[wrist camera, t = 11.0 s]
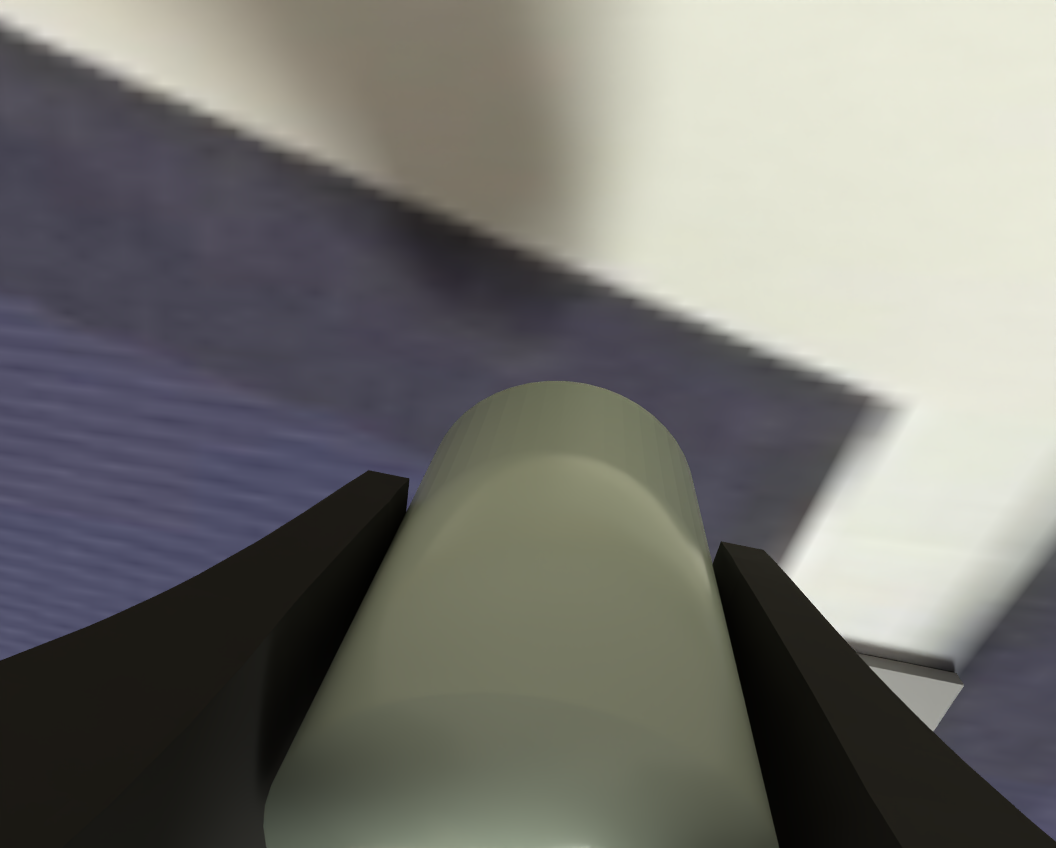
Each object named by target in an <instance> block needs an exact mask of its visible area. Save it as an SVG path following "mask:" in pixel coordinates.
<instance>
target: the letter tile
mask: <svg viewBox="0 0 1056 848" xmlns="http://www.w3.org/2000/svg"><path fill="white" fill-rule="evenodd" d="M857 654H858V655H859V656H860V657H861V658H862V659H863V661H864V662H865V663H866V664H867V665H868V666H869V667H870V668H871V669H872V670H873V671H874V672H875V673H876V674H877V675H878V677H879V678H880V679H881V680H882V681H883V682H884V683H885V684H886V685H887V686H888V687H889V688H890V689H891V690H892V691H893V692H894V693H895V694H896V695H897V696H898V697H899V698H900V699H901V700H902V701H903V702H904V703H905V704H906V705H907V706H908V707H909V708H910V709H911V710H912V711H913V712H914V713H915V714H916V715H917V716H918V717H919V718H920V719H921V720H922V721H923V722H924V723H925V724H926V725H927V726H928V727H929V728H930V729H931V730H932V731H934V730H935V728H936V727H937V725H938V724H939V722H940V721H941V719H942V718H943V716H944V715H945V713H946V712H947V710H948V709H949V707H950V706H951V704H952V703H953V701H954V700H955V698H956V697H957V695H958V694H959V692H960V691H961V689H962V688H963V686H964V685H963V683H962V681H961V680H960V678H959V677H958V675H957V673H953V672H948V671H943V670H938V669H933V668H928V667H923V666H918V665H913V664H908V663H903V662H898V661H893V660H888V659H884V658H879V657H874V656H869V655H864V654H859V653H857Z"/></svg>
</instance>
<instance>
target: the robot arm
mask: <svg viewBox="0 0 1056 848" xmlns="http://www.w3.org/2000/svg"><path fill="white" fill-rule="evenodd" d="M408 487H409V478H404V477H399V476H394V475H389V474H384V473H380V472H375V471H370V470H368V471H367V472H365V473H364V474H362V475H360V476H359V477H357V478H356V479H354V480H352V481H351V482H349V483H348V484H346V485H345V486H343V487H342V488H340V489H339V490H337V491H336V492H334V493H333V494H331V495H330V496H328V497H326V498H325V499H323V500H322V501H320V502H319V503H317V504H316V505H314V506H313V507H311V508H310V509H308V510H307V511H305V512H304V513H302V514H301V515H299V516H297V517H296V518H294V519H293V520H291V521H289V522H288V523H286V524H285V525H283V526H281V527H280V528H278V529H277V530H275V531H273V532H272V533H270V534H269V535H267V536H265V537H264V538H262V539H261V540H259V541H257V542H256V543H254V544H252V545H250V546H248V547H247V548H245V549H243V550H241V551H239V552H238V553H236V554H234V555H232V556H231V557H229V558H227V559H225V560H223V561H222V562H220V563H218V564H216V565H215V566H213V567H211V568H209V569H207V570H206V571H204V572H202V573H200V574H199V575H197V576H195V577H193V578H191V579H189V580H187V581H185V582H183V583H181V584H179V585H177V586H175V587H173V588H171V589H169V590H167V591H165V592H163V593H161V594H159V595H157V596H155V597H152V598H150V599H148V600H146V601H144V602H142V603H139V604H137V605H135V606H133V607H131V608H128V609H126V610H124V611H122V612H120V613H117V614H115V615H113V616H111V617H109V618H106V619H104V620H102V621H99V622H97V623H95V624H92V625H90V626H88V627H85V628H83V629H80V630H78V631H75V632H72V633H70V634H67V635H65V636H62V637H60V638H57V639H55V640H52V641H49V642H47V643H44V644H42V645H39V646H37V647H34V648H32V649H29V650H27V651H24V652H21V653H19V654H16V655H14V656H11V657H9V658H6V659H4V660H1V661H0V848H267V847H266V842H265V834H264V827H263V824H264V811H265V804H266V800H267V797H268V794H269V791H270V787H271V785H272V783H273V781H274V779H275V777H276V775H277V773H278V770H279V768H280V766H281V764H282V762H283V760H284V758H285V756H286V754H287V752H288V750H289V748H290V746H291V744H292V742H293V740H294V738H295V736H296V734H297V732H298V730H299V728H300V726H301V724H302V722H303V720H304V718H305V716H306V714H307V712H308V710H309V708H310V706H311V704H312V702H313V700H314V698H315V696H316V694H317V692H318V690H319V688H320V686H321V684H322V682H323V680H324V678H325V675H326V673H327V671H328V669H329V667H330V665H331V663H332V661H333V659H334V657H335V655H336V653H337V651H338V649H339V647H340V645H341V643H342V641H343V639H344V637H345V635H346V633H347V631H348V629H349V627H350V625H351V623H352V621H353V619H354V617H355V615H356V613H357V611H358V609H359V607H360V605H361V603H362V601H363V599H364V597H365V595H366V593H367V591H368V589H369V587H370V585H371V582H372V580H373V578H374V576H375V574H376V572H377V570H378V568H379V566H380V564H381V562H382V560H383V558H384V556H385V554H386V552H387V550H388V548H389V546H390V544H391V542H392V540H393V538H394V536H395V534H396V532H397V530H398V528H399V526H400V524H401V522H402V520H403V518H404V516H405V514H406V508H407V498H408ZM713 569H714V573H715V578H716V582H717V586H718V590H719V595H720V599H721V603H722V607H723V612H724V616H725V620H726V624H727V629H728V633H729V637H730V641H731V646H732V650H733V654H734V658H735V663H736V667H737V671H738V675H739V680H740V684H741V688H742V692H743V697H744V701H745V705H746V709H747V714H748V718H749V722H750V726H751V730H752V735H753V739H754V743H755V747H756V752H757V756H758V760H759V764H760V769H761V773H762V777H763V781H764V786H765V790H766V794H767V798H768V803H769V807H770V811H771V815H772V820H773V824H774V828H775V832H776V837H777V841H778V845H779V848H1056V841H1054V840H1053V839H1052V838H1051V837H1050V836H1048V835H1047V834H1046V833H1045V832H1044V831H1042V830H1041V829H1040V828H1039V827H1038V826H1036V825H1035V824H1034V823H1033V822H1032V821H1031V820H1029V819H1028V818H1027V817H1026V816H1025V815H1024V814H1023V813H1021V812H1020V811H1019V810H1018V809H1017V808H1016V807H1015V806H1014V805H1012V804H1011V803H1010V802H1009V801H1008V800H1007V799H1006V798H1005V797H1003V796H1002V795H1001V794H1000V793H999V792H998V791H997V790H996V789H994V788H993V787H992V786H991V785H990V784H989V783H988V782H987V781H985V780H984V779H983V778H982V777H981V776H980V775H979V774H978V773H976V772H975V771H974V770H973V769H972V768H971V767H970V766H969V765H967V764H966V763H965V762H964V761H963V760H962V759H961V758H960V757H959V756H958V755H957V754H956V753H955V752H954V751H953V750H952V749H950V748H949V747H948V746H947V745H946V744H945V743H944V742H943V741H942V740H941V739H940V738H939V737H938V736H937V735H936V734H935V733H934V732H933V731H932V730H931V729H930V728H929V727H928V726H927V725H926V724H925V723H924V722H923V721H922V720H921V719H920V718H919V717H918V716H917V715H916V714H915V713H914V712H913V711H912V710H911V709H910V708H909V707H908V706H907V705H906V704H905V703H904V702H903V701H902V700H901V699H900V698H899V697H898V696H897V695H896V694H895V693H894V692H893V691H892V690H891V689H890V688H889V687H888V686H887V685H886V684H885V683H884V682H883V681H882V680H881V679H880V678H879V677H878V675H877V674H876V673H875V672H874V671H873V670H872V669H871V668H870V667H869V666H868V665H867V664H866V663H865V662H864V661H863V659H862V658H861V657H860V656H859V655H858V654H857V653H856V652H855V651H854V650H853V649H852V647H851V646H850V645H849V644H848V643H847V642H846V641H845V640H844V639H843V638H842V636H841V635H840V634H839V633H838V632H837V631H836V630H835V629H834V628H833V626H832V625H831V624H830V623H829V622H828V621H827V620H826V619H825V617H824V616H823V615H822V614H821V613H820V612H819V611H818V610H817V608H816V607H815V606H814V605H813V604H812V603H811V602H810V600H809V599H808V598H807V597H806V596H805V595H804V594H803V592H802V591H801V590H800V589H799V588H798V587H797V586H796V585H795V583H794V582H793V581H792V580H791V579H790V578H789V577H788V576H787V574H786V573H785V572H784V571H783V570H782V569H781V568H780V567H779V566H778V565H777V563H776V562H775V561H774V560H773V559H772V558H771V557H770V556H769V555H768V554H767V553H766V552H765V551H764V550H761V549H756V548H751V547H746V546H741V545H736V544H731V543H726V542H721V543H720V546H719V549H718V551H717V554H716V557H715V559H714V562H713Z"/></svg>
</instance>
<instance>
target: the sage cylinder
mask: <svg viewBox="0 0 1056 848" xmlns="http://www.w3.org/2000/svg"><path fill="white" fill-rule="evenodd" d="M263 827H264V834H265V842H266V847H267V848H779V845H778V841H777V837H776V832H775V828H774V824H773V820H772V815H771V811H770V807H769V803H768V798H767V794H766V790H765V786H764V781H763V777H762V773H761V769H760V764H759V760H758V756H757V752H756V747H755V743H754V739H753V735H752V730H751V726H750V722H749V718H748V714H747V709H746V705H745V701H744V697H743V692H742V688H741V684H740V680H739V675H738V671H737V667H736V663H735V658H734V654H733V650H732V646H731V641H730V637H729V633H728V629H727V624H726V620H725V616H724V612H723V607H722V603H721V599H720V595H719V590H718V586H717V582H716V578H715V573H714V569H713V565H712V561H711V556H710V552H709V548H708V544H707V540H706V535H705V531H704V527H703V523H702V518H701V514H700V510H699V506H698V501H697V497H696V493H695V489H694V484H693V480H692V476H691V472H690V469H689V466H688V463H687V461H686V458H685V456H684V454H683V452H682V450H681V449H680V447H679V445H678V444H677V442H676V440H675V439H674V438H673V436H672V435H671V434H670V433H669V431H668V430H667V429H666V428H665V427H664V426H663V425H662V424H661V423H660V422H659V421H658V420H657V419H656V418H655V417H654V416H653V415H652V414H650V413H649V412H648V411H646V410H645V409H643V408H642V407H641V406H639V405H638V404H636V403H634V402H632V401H631V400H629V399H627V398H625V397H623V396H621V395H619V394H616V393H614V392H611V391H609V390H606V389H604V388H600V387H596V386H592V385H588V384H583V383H576V382H568V381H544V382H535V383H528V384H524V385H520V386H515V387H511V388H509V389H506V390H503V391H501V392H498V393H496V394H493V395H492V396H490V397H488V398H486V399H484V400H482V401H481V402H479V403H477V404H476V405H475V406H473V407H472V408H471V409H469V410H468V411H467V412H465V413H464V414H463V415H462V416H461V417H460V418H459V419H458V420H457V421H456V422H455V423H454V424H453V426H452V427H451V428H450V430H449V431H448V432H447V434H446V435H445V436H444V438H443V440H442V442H441V444H440V445H439V447H438V449H437V451H436V453H435V455H434V457H433V459H432V461H431V463H430V465H429V467H428V469H427V471H426V473H425V475H424V477H423V479H422V481H421V483H420V485H419V487H418V490H417V492H416V494H415V496H414V498H413V500H412V502H411V504H410V506H409V508H408V510H407V512H406V514H405V516H404V518H403V520H402V522H401V524H400V526H399V528H398V530H397V532H396V534H395V536H394V538H393V540H392V542H391V544H390V546H389V548H388V550H387V552H386V554H385V556H384V558H383V560H382V562H381V564H380V566H379V568H378V570H377V572H376V574H375V576H374V578H373V580H372V582H371V585H370V587H369V589H368V591H367V593H366V595H365V597H364V599H363V601H362V603H361V605H360V607H359V609H358V611H357V613H356V615H355V617H354V619H353V621H352V623H351V625H350V627H349V629H348V631H347V633H346V635H345V637H344V639H343V641H342V643H341V645H340V647H339V649H338V651H337V653H336V655H335V657H334V659H333V661H332V663H331V665H330V667H329V669H328V671H327V673H326V675H325V678H324V680H323V682H322V684H321V686H320V688H319V690H318V692H317V694H316V696H315V698H314V700H313V702H312V704H311V706H310V708H309V710H308V712H307V714H306V716H305V718H304V720H303V722H302V724H301V726H300V728H299V730H298V732H297V734H296V736H295V738H294V740H293V742H292V744H291V746H290V748H289V750H288V752H287V754H286V756H285V758H284V760H283V762H282V764H281V766H280V768H279V770H278V773H277V775H276V777H275V779H274V781H273V783H272V785H271V787H270V791H269V794H268V797H267V800H266V804H265V811H264V824H263Z"/></svg>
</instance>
